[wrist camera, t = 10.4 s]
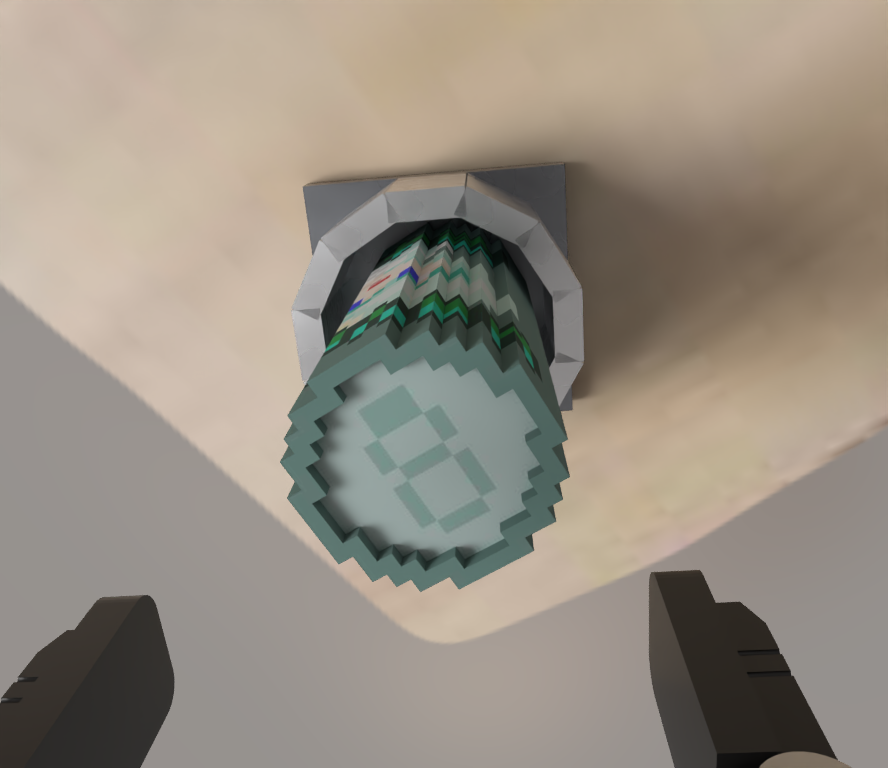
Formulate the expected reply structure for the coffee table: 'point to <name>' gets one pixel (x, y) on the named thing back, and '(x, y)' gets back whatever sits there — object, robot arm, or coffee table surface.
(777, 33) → the coffee table surface
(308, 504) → the can
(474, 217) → the collar holder
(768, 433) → the coffee table surface
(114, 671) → the robot arm
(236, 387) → the coffee table surface
